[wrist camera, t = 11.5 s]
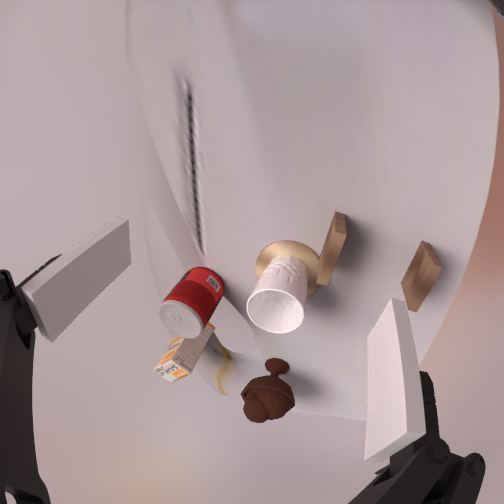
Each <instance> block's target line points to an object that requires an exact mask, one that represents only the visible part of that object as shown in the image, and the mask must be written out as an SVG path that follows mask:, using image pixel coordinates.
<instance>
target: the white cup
mask: <svg viewBox="0 0 504 504" xmlns="http://www.w3.org/2000/svg"><path fill="white" fill-rule="evenodd" d="M307 278H308V273H307V269H306V266H305V265H304V264H303V263H302V261H301V260H300V259H298V258H296V257H293V256H291V255H280V256H278V257H275V258H273V259H272V260H271V261H270V263H269V264H268V265H267V267H266V269H265V270H264V272H263V274H262V275H261V277H260V279H259V281H258V282H257V284H256V286H255V288H254V290H253V292H252V294H251V296H250V298H249V300H248V302H247V313H248V316H249V318H250V319H251V321H252V322H253V323H254V324H255V325H256V326H258V327H259V328H261V329H263V330H265V331H268V332H271V333H278V334H282V333H288V332H291V331H294V330H295V329H297V328H298V327H299V326H300V325H301V324H302V322H303V320H304V314H305V305H306V297H307Z"/></svg>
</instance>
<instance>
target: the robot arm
mask: <svg viewBox="0 0 504 504" xmlns="http://www.w3.org/2000/svg"><path fill="white" fill-rule="evenodd" d="M489 1H490V2H491V3H492V4H493V6H494V7H495V8H496V9H497V12H498V13H499V15H500V16H501V17H502V18H504V0H489ZM129 265H131V254H130V241H129V221H128V219H124V218H121V217H118V216H117V217H115V218H114V219H112V220H111V221H109V222H108V223H106V224H105V225H103V226H102V227H100V228H99V229H97V230H96V231H94V232H93V233H92V234H90V235H89V236H87V237H86V238H85V239H83V240H82V241H80V242H79V243H77V244H76V245H75V246H73V247H72V248H71V249H69V250H68V251H67V252H65V253H64V254H61V255H59V256H56V257H54V258H52V259H50V260H49V261H48V262H46V263H45V264H44V266H41V267H40V268H39V269H38V270H36V271H35V272H34V273H32V274H31V275H30V276H29V277H28V278H26V279H25V280H24V281H23V282H21V283H20V284H19V285H18V286H16V287H15V285H14V282H13V279H12V276H11V274H10V272H9V271H8V270H3V269H2V270H0V504H7V501H6V497H5V491H6V492H8V493H10V494H12V495H13V497H14V498H15V500H16V503H17V504H51V502H50V498H49V494H48V491H47V488H46V486H45V484H44V483H43V481H42V480H41V478H40V476H39V473H38V467H37V461H36V452H35V443H34V432H33V416H32V415H33V414H32V376H33V357H34V346H35V331H34V329H35V328H36V327H37V326H38V328H39V330H40V333H41V335H42V336H44V337H45V338H46V339H47V340H49V341H50V342H54V340H55V339H56V338H57V337H58V336H59V335H60V334H61V333H62V332H63V331H64V330H65V329H66V328H67V326H69V324H70V323H71V322H72V321H73V320H74V319H75V318H76V317H77V316H78V315H79V314H80V313H81V312H82V311H83V310H84V309H85V308H86V307H87V306H88V305H89V304H90V303H91V302H92V301H93V300H94V299H95V298H96V297H97V296H98V295H99V294H100V293H101V292H102V291H103V290H104V289H105V288H106V287H107V286H108V285H109V284H110V283H111V282H112V281H114V279H116V278H117V277H118V276H119V275H120V274H121V273H122V272H123V271H124V270H125V269H126V268H127V267H128V266H129ZM367 362H368V398H367V426H366V442H365V454H364V461H373V462H382V461H384V460H386V459H387V458H389V457H390V464H389V465H388V466H386V467H384V468H382V469H380V470H379V471H377V472H376V473H375V474H379V473H380V474H379V475H378V476H377V477H376V478H375V479H374V480H373V481H372V482H371V483H370V484H369V485H368V486H367V487H366V488H365V489H364V490H363V491H362V492H360V493H359V495H357V496H356V497H355V498H354V499H353V500H352V501H351V502H350V503H348V504H475V503H476V500H477V497H478V494H479V491H480V488H481V485H482V481H483V477H484V474H485V461H484V459H483V457H482V456H481V455H480V454H478V453H471V454H469V455H468V456H466V457H461V456H458V455H456V454H453V453H451V452H450V449H449V446H448V445H447V443H445V441H444V440H442V439H440V436H439V426H438V417H437V408H436V405H435V403H436V401H435V396H434V387H433V382H432V380H431V378H430V377H429V375H428V373H427V372H422V371H419V367H418V361H417V355H416V350H415V345H414V339H413V335H412V330H411V325H410V321H409V316H408V312H407V308H406V304H405V301H401V300H398V299H394V298H391V299H390V300H389V302H388V304H387V306H386V307H385V309H384V311H383V313H382V314H381V316H380V318H379V319H378V321H377V323H376V324H375V326H374V327H373V329H372V331H371V332H370V334H369V335H368V337H367Z"/></svg>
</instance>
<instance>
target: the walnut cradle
mask: <svg viewBox="0 0 504 504" xmlns="http://www.w3.org/2000/svg"><path fill="white" fill-rule="evenodd" d="M346 236H347V233H346V221H345V214H341V213H338V212H335V213H334V217H333V220H332V223H331V226H330V229H329V232H328V235H327V238H326V241H325V244H324V247H323V249H322V252H321V255H320V259H319V267H318V275H317V284H320V285H324V286H327V285H328V282H329V280H330V277H331V275H332V272H333V270H334V267H335V265H336V262H337V260H338V257H339V255H340V252H341V249H342V247H343V244H344V241H345V239H346ZM442 268H443V267H442V266H441V264H440V262H439V260H438V258H437V256H436V255H435V253H434V251H433V249H432V247H431V246H430V244H429V243H426V242H424V241H421V243H420V246H419V248H418V250H417V252H416V254H415V256H414V258H413V260H412V262H411V264H410V266H409V268H408V270H407V272H406V274H405V276H404V278H403V280H402V282H401V284H402V288H403V291H404V295H405V299H406V303H407V306H408V310H411V311H414V312H417V311H418V309H419V307H420V306H421V304H422V303H423V301H424V299H425V298H426V296H427V294H428V293H429V291H430V289H431V288H432V286H433V284H434V282H435V281H436V279H437V277H438V275H439V273H440V272H441V270H442Z"/></svg>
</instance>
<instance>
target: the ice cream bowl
mask: <svg viewBox="0 0 504 504" xmlns="http://www.w3.org/2000/svg"><path fill="white" fill-rule="evenodd" d="M265 367H266V369H267V370H268V371H269V372H271V375H270V376H262V377H257V378H254V379H252V380H251V381H250V382H249V383H248V384H247V386H246V387H245V388H244V390H243V391H242V393H241V396H242V398H243V400H244V401H245V404H244V408H243V409H244V413H245V415H246V417H247V418H248V419H249V420H250V421H252V422H256V423H262V422H265V421H266V420H268V419H269V420H273V419H278V418H281V417H283V416H284V415H285V413H286V412H288V411H289V410H290V409H292V408H293V407H294V406H295V399H294V396H293V393H292V390H291V387H290V386H289V385H288V384H287V383H286V382H284V381H283V380H281V379H280V378H278V376H279V375H281V374H285V373H286V372H287V371H288V370H289V365H288V363H287V362H285V361H284V360H282V359H277V358H272V359H268V360H267V361H266V363H265Z"/></svg>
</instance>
